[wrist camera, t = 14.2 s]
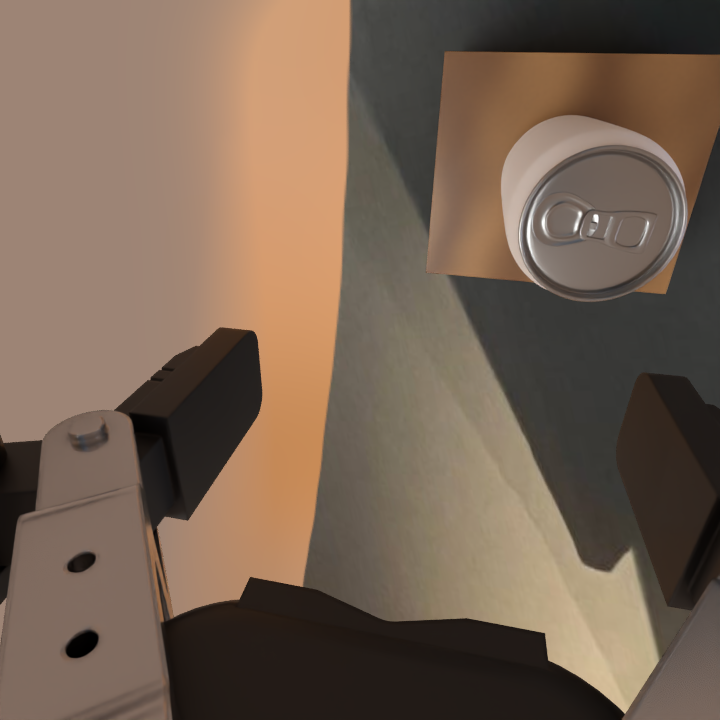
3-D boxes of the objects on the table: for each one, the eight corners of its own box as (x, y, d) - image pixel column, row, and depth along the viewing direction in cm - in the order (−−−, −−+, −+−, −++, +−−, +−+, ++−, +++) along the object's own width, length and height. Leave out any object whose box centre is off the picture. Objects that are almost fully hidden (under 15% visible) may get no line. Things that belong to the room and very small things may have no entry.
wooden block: (436, 240, 40) (425, 272, 33) (453, 58, 34) (444, 51, 27) (633, 255, 37) (665, 294, 31) (687, 61, 32) (742, 55, 25)
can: (516, 106, 28) (532, 118, 17) (641, 122, 27) (738, 145, 17) (488, 225, 31) (488, 296, 21) (600, 243, 30) (658, 327, 20)
